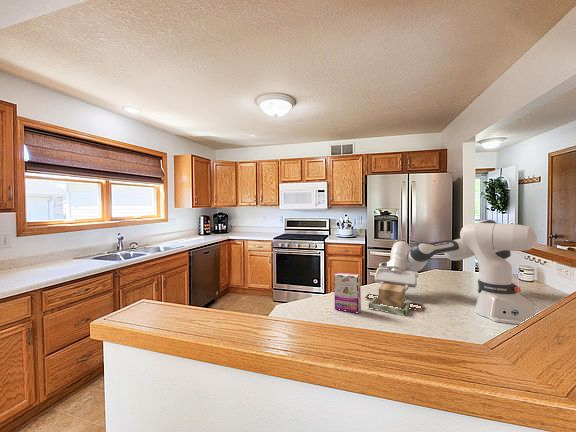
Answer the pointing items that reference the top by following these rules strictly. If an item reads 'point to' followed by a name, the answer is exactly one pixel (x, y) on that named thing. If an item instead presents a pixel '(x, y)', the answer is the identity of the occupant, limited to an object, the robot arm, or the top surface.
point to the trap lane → (391, 309)
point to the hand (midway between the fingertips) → (393, 292)
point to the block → (392, 295)
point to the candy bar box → (347, 292)
